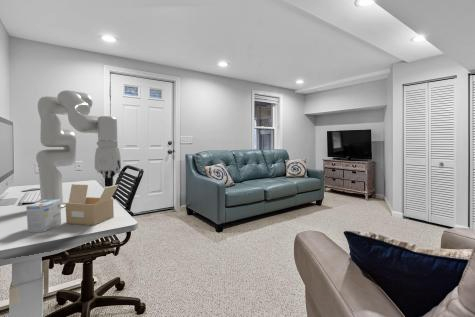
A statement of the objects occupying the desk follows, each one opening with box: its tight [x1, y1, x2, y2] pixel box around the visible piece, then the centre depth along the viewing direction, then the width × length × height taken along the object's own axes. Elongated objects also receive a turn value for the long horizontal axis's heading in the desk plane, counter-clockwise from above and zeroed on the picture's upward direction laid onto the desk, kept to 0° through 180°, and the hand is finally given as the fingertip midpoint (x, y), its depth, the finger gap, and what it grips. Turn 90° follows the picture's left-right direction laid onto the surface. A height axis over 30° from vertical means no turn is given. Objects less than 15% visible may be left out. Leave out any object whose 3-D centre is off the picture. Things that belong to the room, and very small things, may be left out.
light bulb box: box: [25, 199, 62, 233], centre depth 100 cm, size 11×7×11 cm, turn 5°
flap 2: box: [97, 184, 119, 203], centre depth 108 cm, size 8×8×1 cm
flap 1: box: [68, 183, 89, 204], centre depth 105 cm, size 8×8×1 cm
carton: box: [65, 196, 115, 226], centre depth 110 cm, size 14×13×9 cm
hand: (108, 186), depth 107 cm, fingers closed
